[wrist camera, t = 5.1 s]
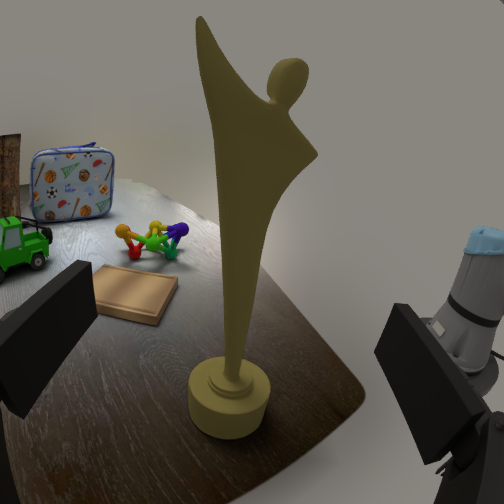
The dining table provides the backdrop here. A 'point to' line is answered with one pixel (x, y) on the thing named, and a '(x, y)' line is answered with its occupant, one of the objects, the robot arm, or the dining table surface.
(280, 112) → the sculpture
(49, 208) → the lunch box
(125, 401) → the dining table surface
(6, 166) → the book
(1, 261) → the toy car
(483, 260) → the robot arm
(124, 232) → the decorative model
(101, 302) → the serving board
